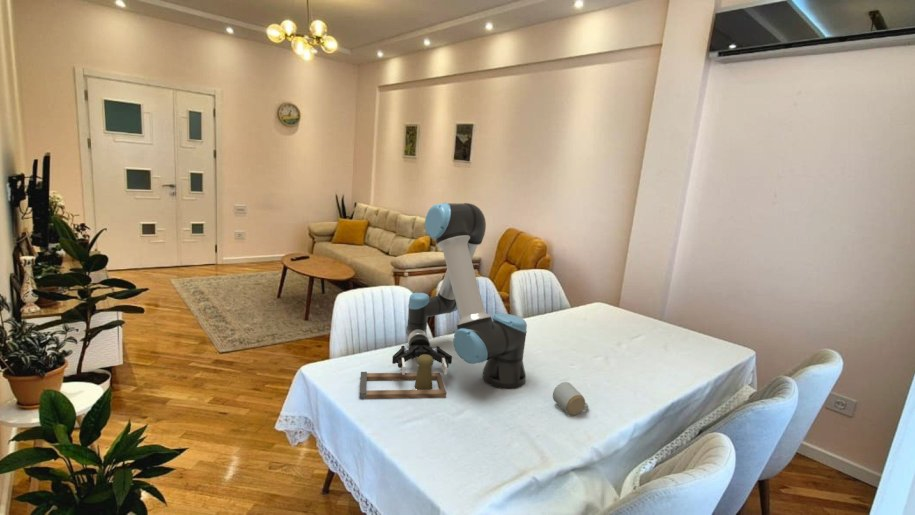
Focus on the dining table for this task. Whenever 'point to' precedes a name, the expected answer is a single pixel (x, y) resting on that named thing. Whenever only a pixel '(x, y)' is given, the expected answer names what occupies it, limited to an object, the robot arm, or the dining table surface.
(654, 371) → the dining table surface
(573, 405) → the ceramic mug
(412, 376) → the walnut channel
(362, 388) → the end stop
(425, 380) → the cork
